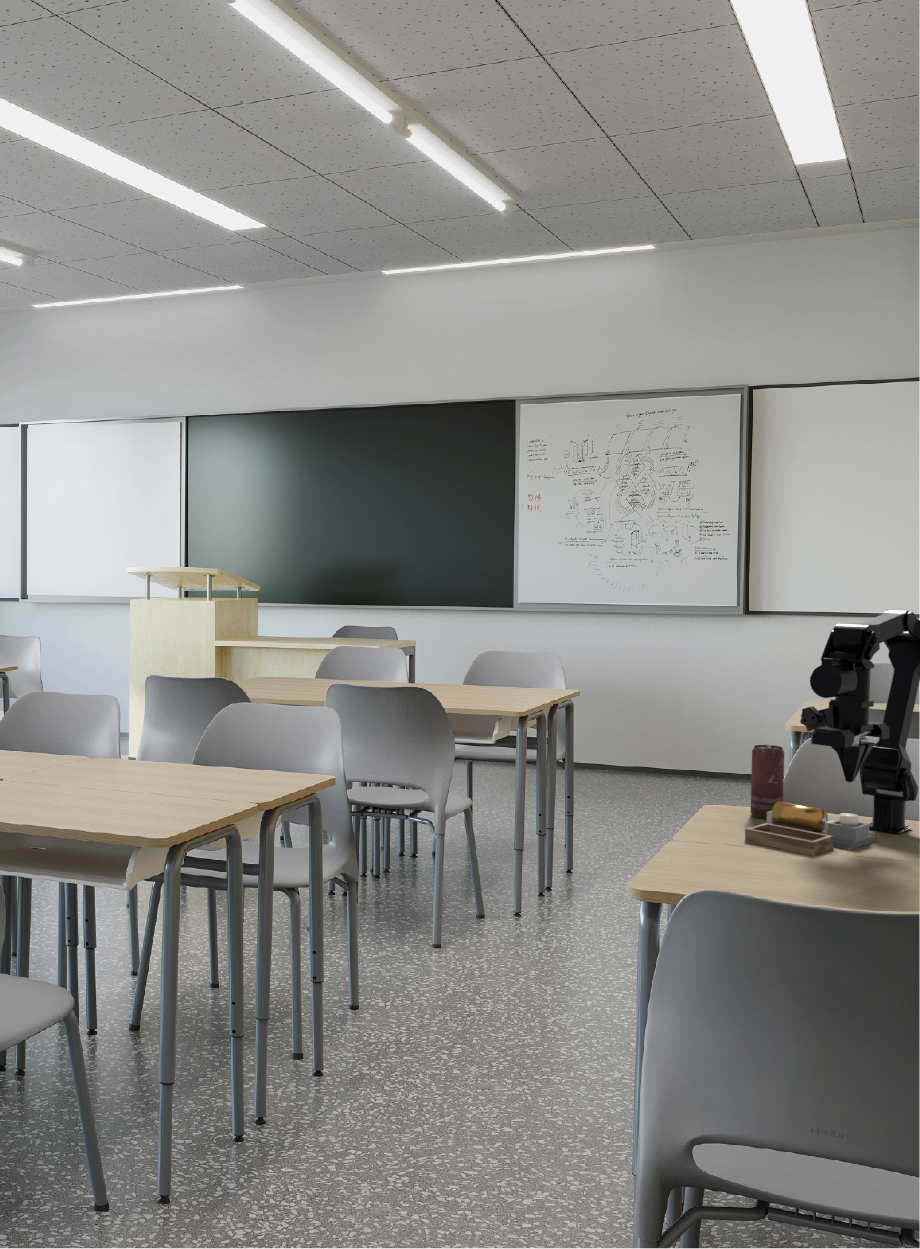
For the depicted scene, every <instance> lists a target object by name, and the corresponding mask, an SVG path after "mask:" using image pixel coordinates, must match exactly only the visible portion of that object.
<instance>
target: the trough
mask: <svg viewBox="0 0 920 1249" xmlns="http://www.w3.org/2000/svg"><path fill="white" fill-rule="evenodd" d="M744 832H745V834H744V841H745V842H747V843H753V844H757V845H762V846H767V847H771V848H776V849H781V850H786V851H791V852H795V853H801V854H805V855H809V856H816V855H818V854H821V853H825V852H827V851H829V850H832V849H834V846H833V839H834V836H831V835H826V834H821V833H815V832H810V831H805V830H800V829H795V828H790V827H784V826H779V825H774V824H769V823H767V822H765V823H762V824H761V823H760V824H758V825H754V826H750V827H747V828H745V830H744Z"/></svg>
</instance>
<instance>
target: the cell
mask: <svg viewBox="0 0 920 1249" xmlns="http://www.w3.org/2000/svg"><path fill="white" fill-rule="evenodd" d="M772 818H773V821H774V822H775V823H784V824H790V825H795V826H800V827H805V828H811V829H814V830H816V831H824V830H825V822H827V821H829V816H828V812H827V810H826V809H824V808H819V807H818V808H817V807H813V806H806V805H801V804H795V803H790V802H784V801H783V802H776V803H775V804H774V806H773V810H772Z"/></svg>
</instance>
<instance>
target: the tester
mask: <svg viewBox="0 0 920 1249" xmlns="http://www.w3.org/2000/svg"><path fill="white" fill-rule="evenodd" d="M766 823H769V824H774V825H779V826H784V827H790V828H795V829H800V830H805V831H810V832H815V833H821V834H826V835H831V836H834V839H833V848H840V849H843V850H844V849H845V850H849V851H851V850H854V849H857V848H860V847H863V846H866V845H869V844H871V843H873V842H875V841H874V835H871V834H870V828H869V824H870V823H868V822H867V823H866V822H860V821H858V826H857V827H851V826H845V825H840V824H839V819H837V820H828V821H827V822H825V830H824V831H816V830H814V829H811V828H805V827H800V826H795V825H790V824H784V823H775V822H774V821H773V818H772V810H771V811H768V812H767V819H766Z"/></svg>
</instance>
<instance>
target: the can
mask: <svg viewBox="0 0 920 1249" xmlns="http://www.w3.org/2000/svg"><path fill="white" fill-rule="evenodd" d="M784 770H785V751H784V749H783V747H782V746H778V745H772V744H757V745H754V746H753V749H752V750H751V776H750V777H751V782H750V783H751V786H750V789H751V790H750V814H751V816H752V817H753V818H756V819H761V820H767V812H768V811H771V810H773V806H774V804H775V803H776V802H784V782H785V781H784V780H785V779H784V776H785V775H784V774H785V771H784Z"/></svg>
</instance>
